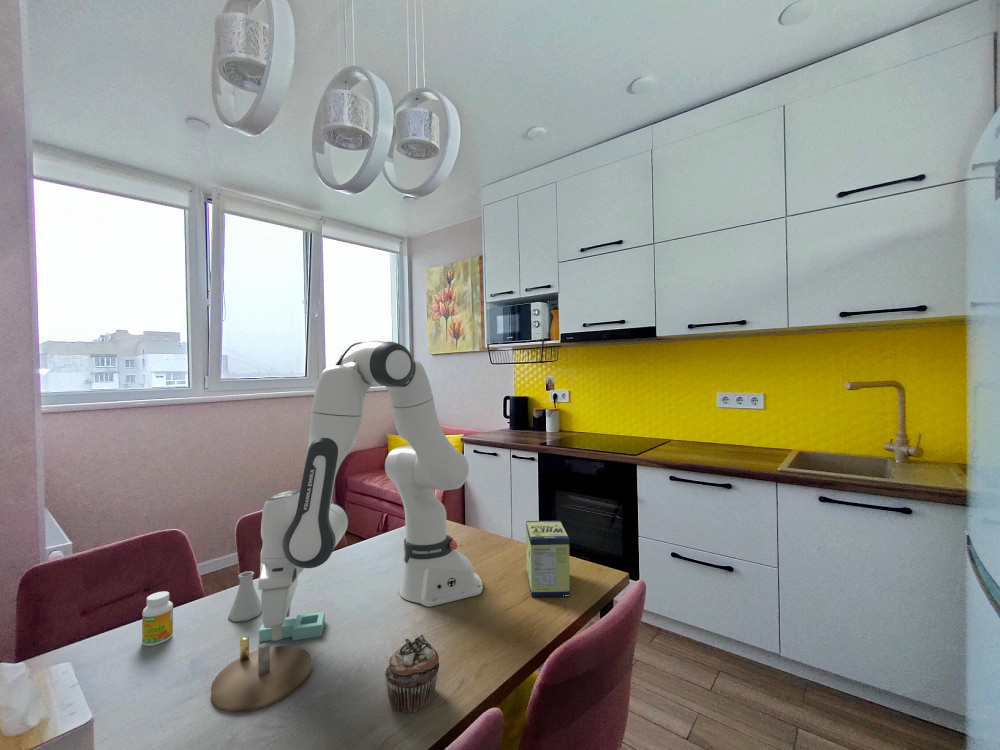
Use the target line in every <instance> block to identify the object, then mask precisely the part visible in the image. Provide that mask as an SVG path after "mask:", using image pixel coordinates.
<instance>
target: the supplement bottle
mask: <svg viewBox="0 0 1000 750" xmlns="http://www.w3.org/2000/svg"><path fill="white" fill-rule="evenodd" d="M141 615H142V620H141V621H142V622H141V624H142V626H141V628H142V629H141V643H142V645H143V646H145V647H146V646H147V647H154V646H157V645H160V644H163V643H165V642H167V641H168V640H170V639H171V638H172V637H173V634H174V603H173V602H172V601H170V592H169V591H166V590H165V591H157V592H154V593H152V594H150V595H148V596H147V597H146V606H145V608H143V610H142V614H141Z"/></svg>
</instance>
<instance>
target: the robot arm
mask: <svg viewBox="0 0 1000 750" xmlns="http://www.w3.org/2000/svg"><path fill="white" fill-rule="evenodd" d="M371 387H385V388H386V390H387V392H388V394H389V400H390V406H391V410H392V414H393V419H394V423H395V429H396V431H397V432H396V433H397V434H398V435H399V436H400V437H401V439H403V440H404V441H406V442H407V443H408V444H409V445H406V446H400V447H396V448H395V447H394V448H393V449H392V450H391V451H389V453H388V454H387V456H386V458H385V463H384V470H385V474H386V476H387V478H388V479H390V481H391V482H392V483H393V484H394V486H395V488H396V489H397V491H398V494H399V496H400V498H401V502H402V506H403V509H404V518H405V519H404V520H405V521H404V522H405V524H404V525H405V538H404V540H403V561H404V567H403V575H402V580H401V585H400V589H399V595H400V597H402V598H403V599H404V600H407V601H409V602H413V603H417V604H421V605H422V606H424V607H429V608H430V607H434V606H438V605H442V604H447V603H451V602H455V601H458V600H459V601H460V600H463V599H467V598H471V597H475V596H478V595H480V594H482V593H483V589H484V587H483V581H482V579H481V577H480V576H479V574H478V573H476V572H474V567H473V565H472V563H471V561H470V560H469V558H468V557H466V556H465V555H464V554H462V553H461V552H459V551H458V550H457V548H458V546H459V545H458V543H457V542H456V540H454V538H453V537H452V536H451V535H450V534H447V510H446V507H445V505H444V503H442V502H441V501H440V499H438V498H437V496H436V494H435V493H434V492H435V491H434V490H436V491H451V490H458V489H460V488H461V487H463V485H464V484H465V482H466V481H467V479H468V476H469V471H470V468H469V463H468V459H467V458H466V456H465V455H464V454H463V453H462V452H460V451H459V450H458V449H456V448H455V447H454V446H453V444H452V443H451V441H449V439H448V437H447V436H446V435H445V432H444V431H443V429H442V427H441V424H440V422H439V419H438V414H437V411H436V410H437V409H436V405H435V401H434V396H433V390H432V387H431V383H430V380H429V378H428V374H427V371H426V370H425V367H424V366H423V364H422V363H421V362H420V361H418V360H415V359H414V357H413V355H412V353H411V352H410V351H409V350H408V348H406V346H404V345H403V344H400V343H398V342H395V341H383V340H370V341H365V342H363V341H361V342H360V341H359V342H356V343H353V344H350V345H349V346H347V347H346V348H345V349H344V350H343V351H342V353H341V354H340V356H339V359H338V361H337V362H336V363H335V365H331V366H328V367H326V368H325V369H324V370H323V371H322V372H321V373H320V375H319V379H318V381H317V383H316V387H315V390H314V395H313V399H312V404H311V405H312V406H311V412H310V420H309V421H310V422H309V432H308V445H307V448H306V449H307V451H306V460H305V463H304V464H305V465H304V468H303V473H302V478H301V485H300V490H298V489H295V490H293V489H291V490H285V491H283V492H282V491H281V492H280V493H279V492H278V493H276V494H274V495H272V496H270V497H269V498H268V499H266V501H265V502H264V504H263V507H262V513H261V514H262V515H261V525H260V526H261V527H260V537H261V540H262V547H261V551H260V564H259V565H260V566H259V568H260V569H259V576H258V582H257V583H258V585H257V586H258V587H257V588H258V590H260V591H261V594H260V595H261V596H260V597H261V598H260V602H261V605H262V612H261V617H262V623H263V625H264V627H265V628H271V630H272V639H273V640H272V641H273V642H274V641H279V640H282V639H283V638H282V635H283V628H282V625H283V623H284V620H286V618H289V617H290V615H291V604H292V601H293V597H294V595H295V592H296V589H297V587H298V578H299V575H300V574H301V573H302V572H303V571H304V569H313V568H318V567H320V566H321V565H323V564H325V563H326V562H327V561H328V559H330V558H331V555H332V554H333V551H334V550H335V547H337V545H338V544H339V543H340V541H341V539H342V538H343V537H344V535H345V533H346V531H347V529H348V526H349V517H348V514H347V512H346V511H345V509H343V507H341V506H340V505H339V504H336V503H332V499H333V493H334V487H335V481H336V477H337V475H338V471H339V469H340V466H341V465H342V463H343V462H344V460H345V458H346V457H347V456H348V454H349V453H350V451H351V450H352V449H353V448H354V447H355V444H356V442H357V439H358V436H359V435H360V434H359V433H360V430H361V427H362V420H363V409H364V401H365V400H364V399H365V397H366V395H367V393H368V391H369V389H370V388H371Z"/></svg>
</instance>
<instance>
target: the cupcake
mask: <svg viewBox="0 0 1000 750" xmlns="http://www.w3.org/2000/svg"><path fill="white" fill-rule="evenodd" d="M388 661H389V662H388V666H387V668H386V669H385V671H384V680H385V684H386V688H387V689H386V690H387V695H388V700H389V705H390V707H391V708H392V709H394V711H396V712H398V713H402V714H411V713H417V712H418V711H419V710H422V709H425V708H426V707H428V706H429V704H431V702H432V701H433V700H434V699H433V698H434V695H435V690H436V685H437V679H438V674H439V671H440V670H439V669H440V663H439V661H440V656H439V654H438V652H437V650H436V649H435V648H434V647H433V646H432V645H431V644H430V643H429V642H428V640H427V639H426V637H425V635H424V634H422V633H421V634H419V635H418V636H417V638H415V639H414V641H411V640H410V639H409V638H405V642H403V643H402V644H400V645H399V646H398V648H397V651H395V652H393V653H392V655H391V657H389V660H388Z"/></svg>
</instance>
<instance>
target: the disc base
mask: <svg viewBox="0 0 1000 750" xmlns="http://www.w3.org/2000/svg"><path fill="white" fill-rule="evenodd" d="M257 648H258V649H257V650H255V651H253V652H249V659H247V660H245V661H240V657H239V658H237V659H236V660H234V661H232V662H231V663H229V664H228V665H227V666H225V667H224V668H223V669H222V670H221V671H220V672H219V673H218V674H217V675H216V676H215V678H214V680H213V681H212V683H211V687H210V697H211V703H212V704H213V705H214V706H215V707H216V708H218V709H220V710H223V711H225V712H232V713H234V712H235V713H238V712H239V713H240V712H242V713H244V712H250V711H254V710H255V711H256V710H259V709H263V708H265V707H269V706H272V705H274V704H277V703H278V702H280V701H282V700H284V699H286V698H288V697H289V696H291V695H292V694H294V693H295V692H297V691H298V690H299V689H300V688H301V687H302V686H303V685H304V684H305V683H306V682H307V681H308V679H309V677H310V675H311V673H312V670H313V657H312V655H311V654H310V652H309V651H308V650H306V649H305V648H304V647H303V648H302V647H300V646H295V645H285V644H284V645H275V646H271V644H270V642H264V643H261V644H259V645H258V646H257Z"/></svg>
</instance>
